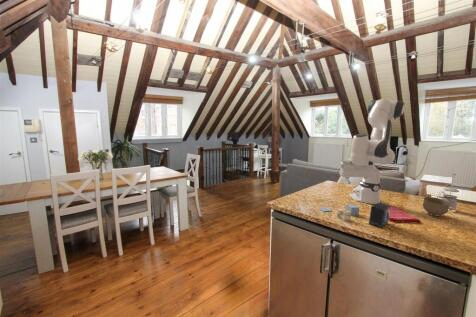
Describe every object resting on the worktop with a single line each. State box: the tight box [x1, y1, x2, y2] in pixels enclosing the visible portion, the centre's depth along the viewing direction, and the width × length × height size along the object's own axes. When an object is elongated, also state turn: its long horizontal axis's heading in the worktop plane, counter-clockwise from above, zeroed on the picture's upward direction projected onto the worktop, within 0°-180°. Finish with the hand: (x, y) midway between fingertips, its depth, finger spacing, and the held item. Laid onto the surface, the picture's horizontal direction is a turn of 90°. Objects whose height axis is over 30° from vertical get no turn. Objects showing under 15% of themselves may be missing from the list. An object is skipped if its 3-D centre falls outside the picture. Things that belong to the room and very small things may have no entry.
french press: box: [436, 172, 460, 210], centre depth 157 cm, size 10×12×25 cm
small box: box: [368, 202, 391, 228], centre depth 130 cm, size 11×6×10 cm, turn 129°
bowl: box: [422, 196, 450, 216], centre depth 147 cm, size 13×13×10 cm
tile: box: [317, 206, 333, 213], centre depth 150 cm, size 6×6×1 cm
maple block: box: [336, 208, 352, 222], centre depth 136 cm, size 5×5×5 cm
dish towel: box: [371, 204, 422, 223], centre depth 146 cm, size 17×24×3 cm
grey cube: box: [345, 204, 360, 216], centre depth 145 cm, size 5×5×5 cm
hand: (355, 184), depth 142 cm, fingers open, 8 cm apart
